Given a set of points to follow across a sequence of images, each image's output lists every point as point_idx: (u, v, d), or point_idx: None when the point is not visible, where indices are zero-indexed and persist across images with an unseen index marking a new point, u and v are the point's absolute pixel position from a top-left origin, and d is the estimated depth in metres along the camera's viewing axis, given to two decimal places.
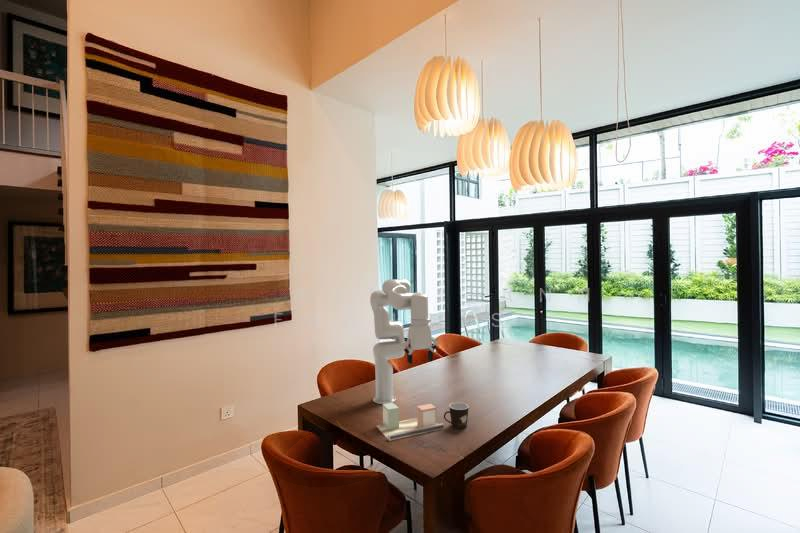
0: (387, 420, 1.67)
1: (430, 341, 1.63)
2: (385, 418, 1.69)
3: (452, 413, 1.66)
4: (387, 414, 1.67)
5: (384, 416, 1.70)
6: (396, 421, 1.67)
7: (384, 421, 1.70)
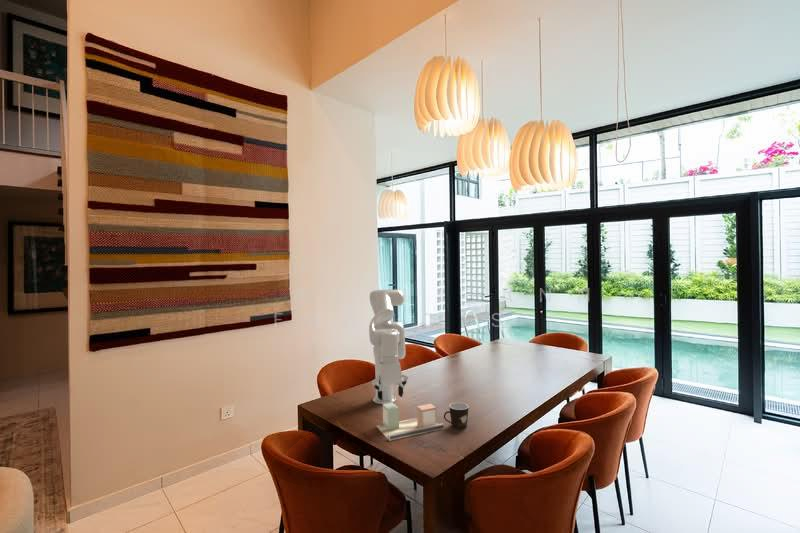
0: (387, 420, 1.67)
1: (400, 377, 1.69)
2: (385, 418, 1.69)
3: (452, 413, 1.66)
4: (387, 414, 1.67)
5: (384, 416, 1.70)
6: (396, 421, 1.67)
7: (384, 421, 1.70)
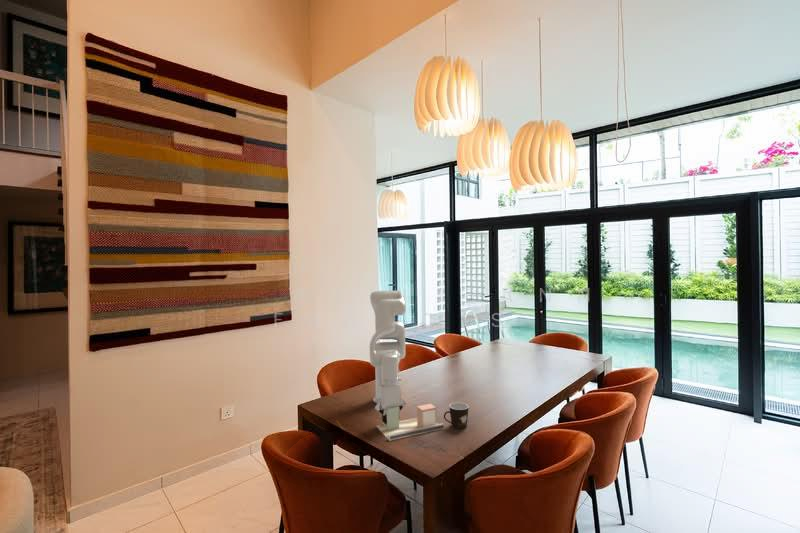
0: (387, 420, 1.67)
1: (400, 399, 1.69)
2: None
3: (452, 413, 1.66)
4: (387, 414, 1.67)
5: None
6: (396, 421, 1.67)
7: None
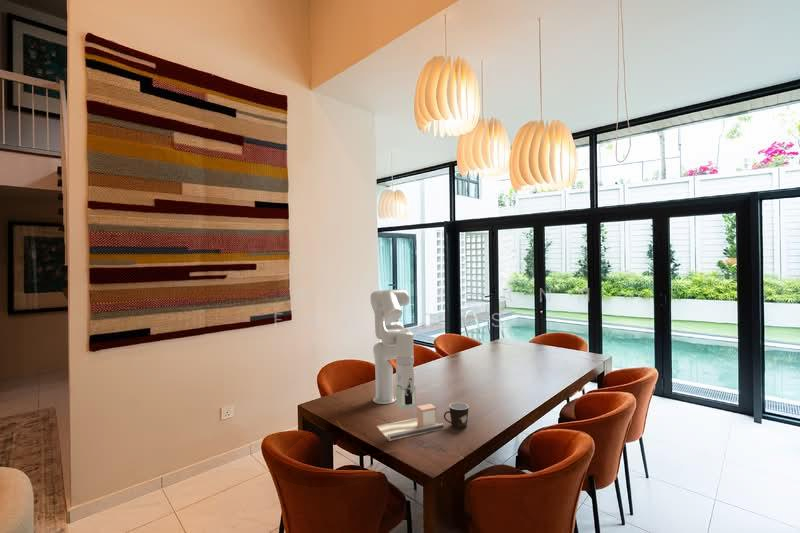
0: (413, 398, 1.62)
1: None
2: None
3: (452, 413, 1.66)
4: (413, 392, 1.62)
5: (404, 398, 1.61)
6: None
7: None
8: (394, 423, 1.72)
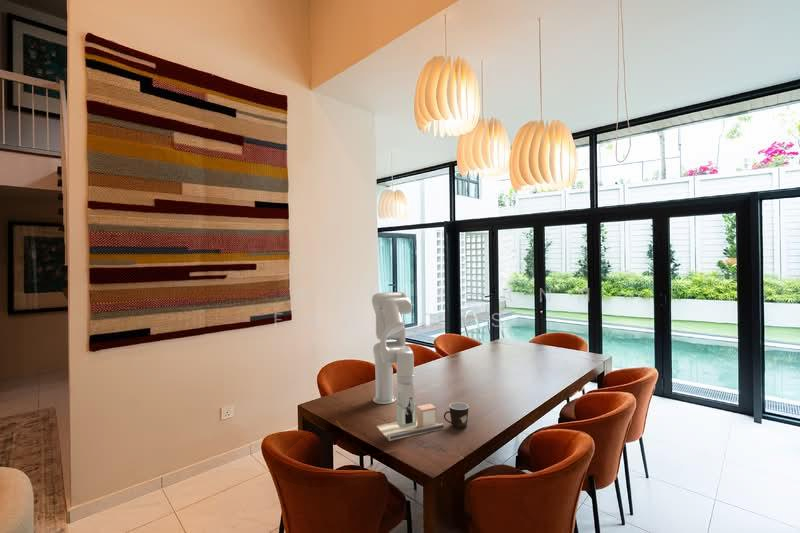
0: (413, 417, 1.62)
1: None
2: None
3: (452, 413, 1.66)
4: (413, 411, 1.62)
5: (404, 417, 1.61)
6: None
7: None
8: (394, 423, 1.72)
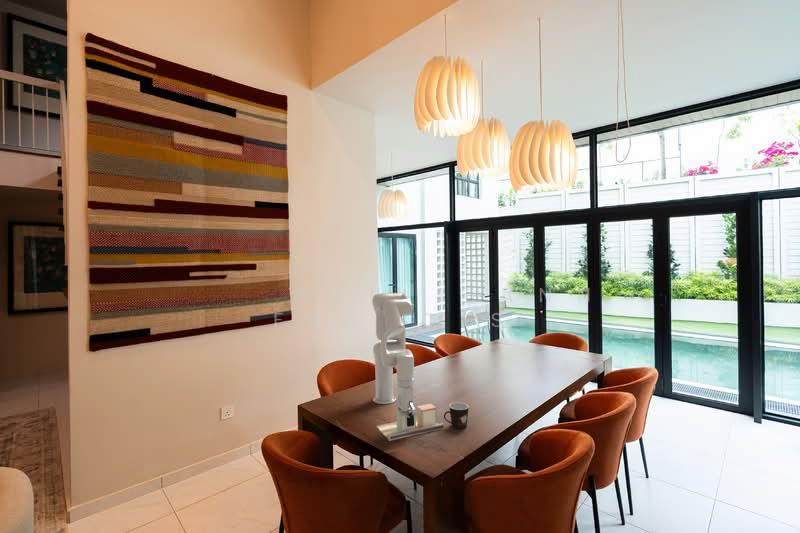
0: None
1: None
2: None
3: (452, 413, 1.66)
4: None
5: (404, 424, 1.61)
6: None
7: (406, 429, 1.61)
8: (394, 423, 1.72)
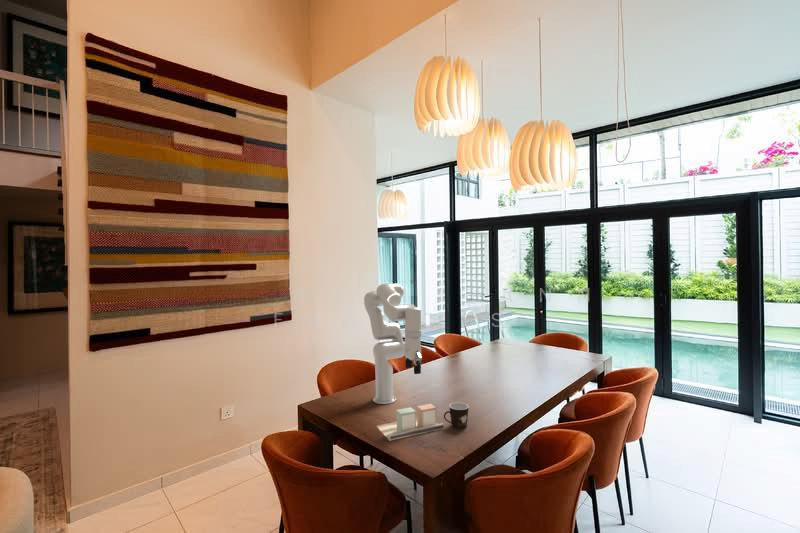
0: (413, 423, 1.63)
1: None
2: (408, 424, 1.62)
3: (452, 413, 1.66)
4: (413, 417, 1.63)
5: (404, 424, 1.61)
6: None
7: (406, 429, 1.61)
8: (394, 423, 1.72)
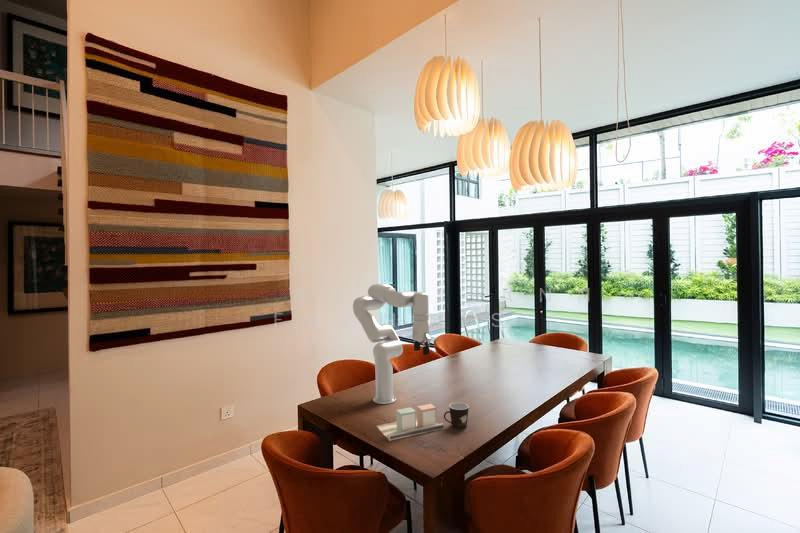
0: (413, 423, 1.63)
1: None
2: (408, 424, 1.62)
3: (452, 413, 1.66)
4: (413, 417, 1.63)
5: (404, 424, 1.61)
6: None
7: (406, 429, 1.61)
8: (394, 423, 1.72)
